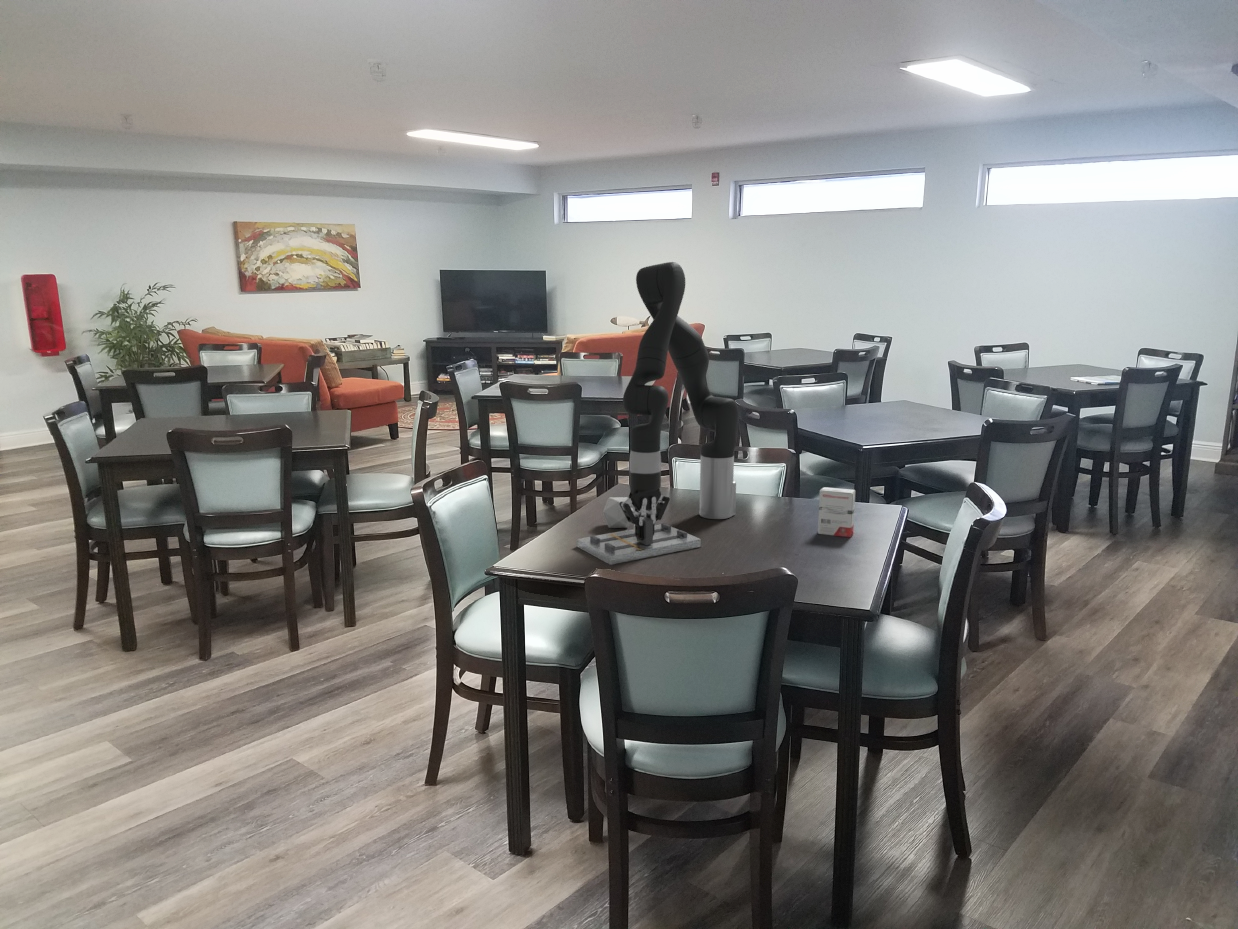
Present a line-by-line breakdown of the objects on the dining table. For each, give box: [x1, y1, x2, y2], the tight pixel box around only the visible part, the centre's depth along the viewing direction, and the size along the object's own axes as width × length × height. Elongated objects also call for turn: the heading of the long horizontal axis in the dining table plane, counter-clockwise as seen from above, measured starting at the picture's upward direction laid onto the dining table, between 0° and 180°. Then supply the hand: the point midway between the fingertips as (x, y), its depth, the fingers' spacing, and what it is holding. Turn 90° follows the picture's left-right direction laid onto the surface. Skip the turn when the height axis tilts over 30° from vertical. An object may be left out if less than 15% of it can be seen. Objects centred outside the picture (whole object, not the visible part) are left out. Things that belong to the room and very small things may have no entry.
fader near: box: [637, 516, 653, 545], centre depth 204 cm, size 2×4×6 cm, turn 31°
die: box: [602, 496, 634, 529], centre depth 225 cm, size 8×9×10 cm
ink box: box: [817, 486, 856, 538], centre depth 218 cm, size 9×5×12 cm, turn 65°
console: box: [576, 522, 702, 566], centre depth 208 cm, size 26×16×3 cm, turn 121°
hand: (644, 538), depth 204 cm, fingers closed on fader near, 2 cm apart
